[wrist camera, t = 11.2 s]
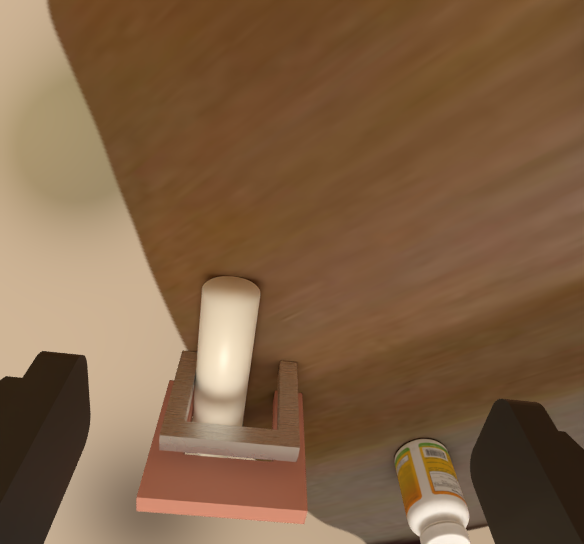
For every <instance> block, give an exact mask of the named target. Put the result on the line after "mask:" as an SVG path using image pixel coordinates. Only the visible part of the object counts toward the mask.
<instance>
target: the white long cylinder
mask: <svg viewBox="0 0 584 544" xmlns="http://www.w3.org/2000/svg"><path fill="white" fill-rule="evenodd" d="M259 302H260V290H259V288H258V287H257V286H256V285H255V284H254V283H252V282H251V281H249V280H246V279H244V278H240V277H235V276H221V277H216V278H212V279H210V280H208V281H207V282H206V283H205V284H204V285H203V287H202V298H201V312H200V325H199V339H198V352H197V366H196V379H195V393H194V406H193V418H192V421H191V422H197V423H208V424H219V425H229V426H240V427H243V417H244V410H245V402H246V395H247V388H248V381H249V374H250V366H251V359H252V352H253V345H254V338H255V330H256V323H257V316H258V309H259ZM197 454H198V455H200V456H208V457H219V458H228V457H230V456H222V455H210V454H199V453H197Z"/></svg>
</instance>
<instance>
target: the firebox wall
mask: <svg viewBox="0 0 584 544" xmlns="http://www.w3.org/2000/svg"><path fill="white" fill-rule="evenodd" d="M173 384H174V381H172V380H170V381H169V384H168V388H167V391H166V395H165V398H164V402H163V406H162V409H161V413H160V416H159V420H158V423H157V427H156V430H155V434H154V437H153V441H152V444H151V448H150V452H149V455H148V459H147V463H146V466H145V469H144V473H143V476H142V480H141V484H140V487H139V491H138V494H137V511H143V512H156V513H169V514H181V515H194V516H208V517H220V518H234V519H245V520H258V521H271V522H285V523H297V524H304V523H305V519H306V514H307V489H306V467H305V444H304V422H303V399H302V393H298V405H299V434H300V450H299V455H298V459H297V462H290V461H279V460H272V462H265V461H254V460H242V459H231V458H219V457H208V456H196V455H185V452H176V451H165V450H159V437H160V432H161V428H162V424H163V421H164V417H165V413H166V410H167V406H168V402H169V398H170V395H171V391H172V387H173ZM194 393H195V386H194V391H193V395H192V400H191V405H190V409H189V414H188V418H187V422H191V421H192V416H193V406H194ZM277 402H278V391H275V394H274V400H273V424H272V429H273V430H277Z"/></svg>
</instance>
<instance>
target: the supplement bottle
mask: <svg viewBox="0 0 584 544" xmlns="http://www.w3.org/2000/svg"><path fill="white" fill-rule="evenodd" d="M395 468H396V472H397V476H398V481H399V485H400V490H401V494H402V498H403V503H404V507H405V511H406V516H407V520H408V523H409V526H410V528H411V530H412V531H413V532H414V533H415V534H416V535H418V536H420V542H421V544H471V543H470V540H469V537H468V532H467V530H466V526H467V524H468V521H469V512H468V508H467V505H466V502H465V499H464V497H463V494H462V491H461V488H460V485H459V482H458V480H457V477H456V474H455V471H454V468H453V465H452V462H451V459H450V457H449V454H448V451H447V449H446V448H445V447H444V446H443V445H442V444H441V443H439V442H437V441H435V440H431V439H418V440H414V441H411V442H409V443H407V444H405V445H404V446H402V447H401V448H400V449H399V450H398V452H397V453H396V456H395Z"/></svg>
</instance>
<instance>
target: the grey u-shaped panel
mask: <svg viewBox="0 0 584 544" xmlns="http://www.w3.org/2000/svg"><path fill="white" fill-rule="evenodd" d="M196 366H197V352H191V351H182V354H181V358H180V362H179V365H178V369H177V372H176V376H175V380H174V384H173V387H172V391H171V395H170V398H169V402H168V406H167V410H166V413H165V417H164V421H163V424H162V428H161V432H160V437H159V450H165V451H176V452H187V453H199V454H210V455H222V456H233V457H246V458H256V459H267V460H279V461H290V462H297V459H298V455H299V450H300V434H299V405H298V375H297V362H288V361H280V364H279V370H278V402H277V430H273V429H262V428H251V427H240V426H229V425H219V424H208V423H197V422H187V418H188V414H189V409H190V405H191V400H192V395H193V391H194V386H195V379H196Z"/></svg>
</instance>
